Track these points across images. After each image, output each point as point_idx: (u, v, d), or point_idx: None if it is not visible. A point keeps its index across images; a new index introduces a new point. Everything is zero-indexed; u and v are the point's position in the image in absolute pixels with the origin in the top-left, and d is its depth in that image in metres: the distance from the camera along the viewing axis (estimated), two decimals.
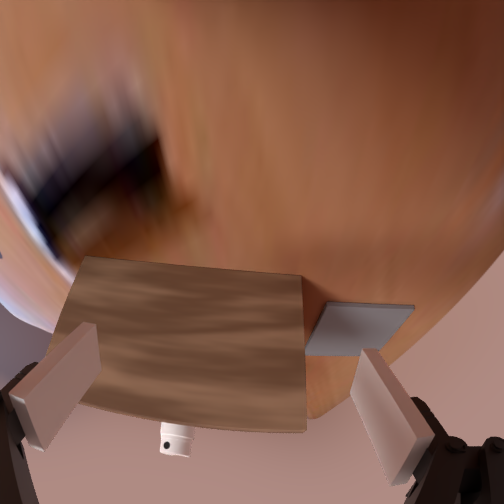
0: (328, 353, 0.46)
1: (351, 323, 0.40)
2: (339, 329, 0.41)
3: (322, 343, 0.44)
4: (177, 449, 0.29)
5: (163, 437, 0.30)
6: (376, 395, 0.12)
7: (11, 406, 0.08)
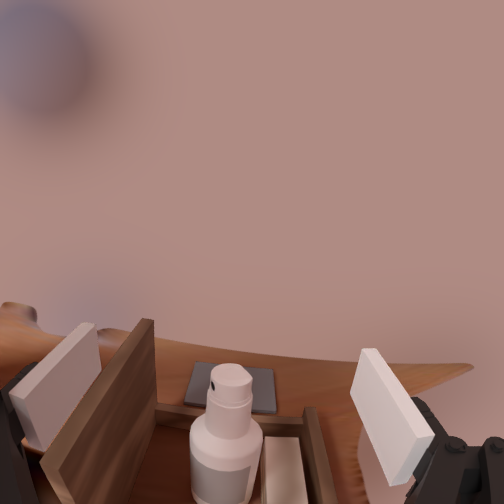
0: (269, 395, 0.48)
1: None
2: None
3: None
4: None
5: (215, 398, 0.24)
6: (376, 395, 0.12)
7: (11, 406, 0.08)
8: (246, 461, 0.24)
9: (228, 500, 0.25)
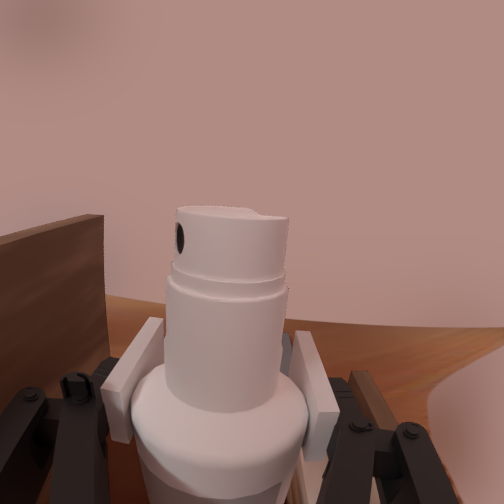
0: (287, 365, 0.33)
1: None
2: None
3: None
4: None
5: (184, 274, 0.09)
6: (300, 373, 0.13)
7: (99, 401, 0.10)
8: (272, 471, 0.09)
9: None
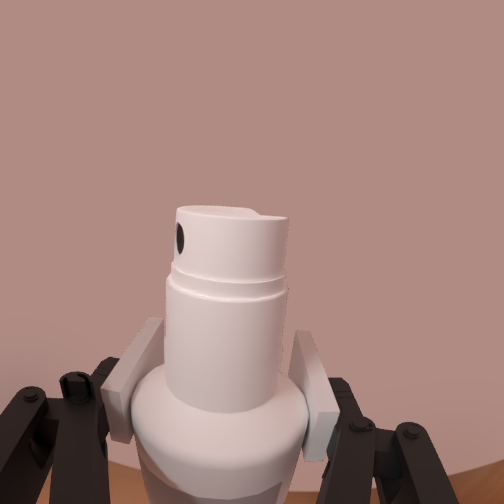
0: None
1: None
2: None
3: None
4: None
5: (184, 275, 0.09)
6: (300, 373, 0.13)
7: (100, 401, 0.10)
8: (272, 471, 0.09)
9: None
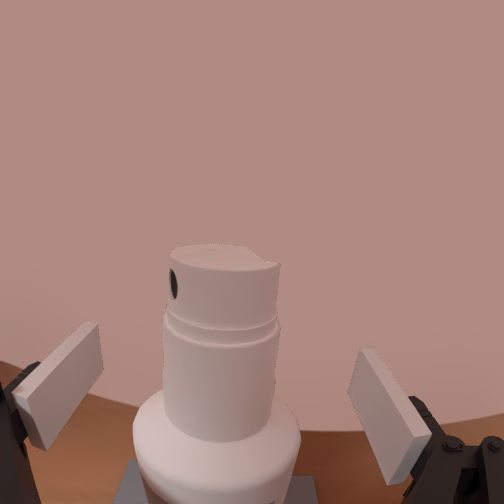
0: None
1: None
2: None
3: None
4: None
5: (178, 320, 0.09)
6: (374, 394, 0.12)
7: (14, 406, 0.08)
8: (265, 493, 0.09)
9: None
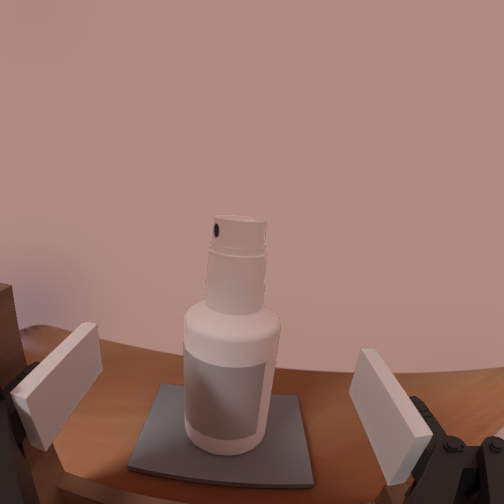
0: (296, 450, 0.23)
1: (186, 437, 0.23)
2: None
3: (257, 465, 0.21)
4: None
5: (218, 246, 0.20)
6: (375, 394, 0.12)
7: (13, 406, 0.08)
8: (259, 350, 0.20)
9: (234, 427, 0.21)
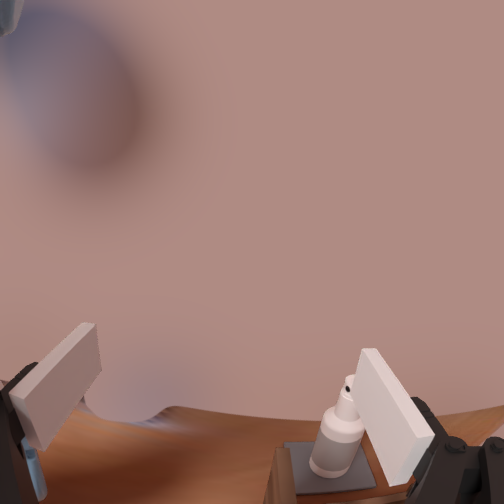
0: (365, 470, 0.41)
1: (312, 472, 0.41)
2: (321, 477, 0.40)
3: (349, 480, 0.39)
4: (344, 382, 0.40)
5: (349, 396, 0.38)
6: (376, 395, 0.12)
7: (11, 406, 0.08)
8: (361, 434, 0.38)
9: (342, 465, 0.39)
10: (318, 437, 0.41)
